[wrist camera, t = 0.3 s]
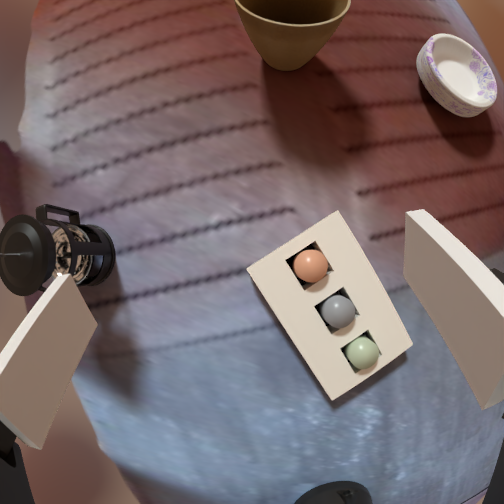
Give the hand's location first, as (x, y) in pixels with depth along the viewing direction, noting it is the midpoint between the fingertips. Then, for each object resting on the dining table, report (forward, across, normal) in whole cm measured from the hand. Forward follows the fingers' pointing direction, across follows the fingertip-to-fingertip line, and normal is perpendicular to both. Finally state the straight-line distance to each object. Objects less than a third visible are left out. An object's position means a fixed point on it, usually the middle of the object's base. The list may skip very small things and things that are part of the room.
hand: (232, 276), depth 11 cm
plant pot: (+45, -9, -12) cm, 47 cm away
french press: (+30, +27, +10) cm, 42 cm away
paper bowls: (+44, -38, -4) cm, 58 cm away
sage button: (+21, -10, +29) cm, 37 cm away
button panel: (+25, -8, +24) cm, 35 cm away
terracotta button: (+27, -5, +17) cm, 32 cm away
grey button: (+24, -8, +23) cm, 34 cm away
